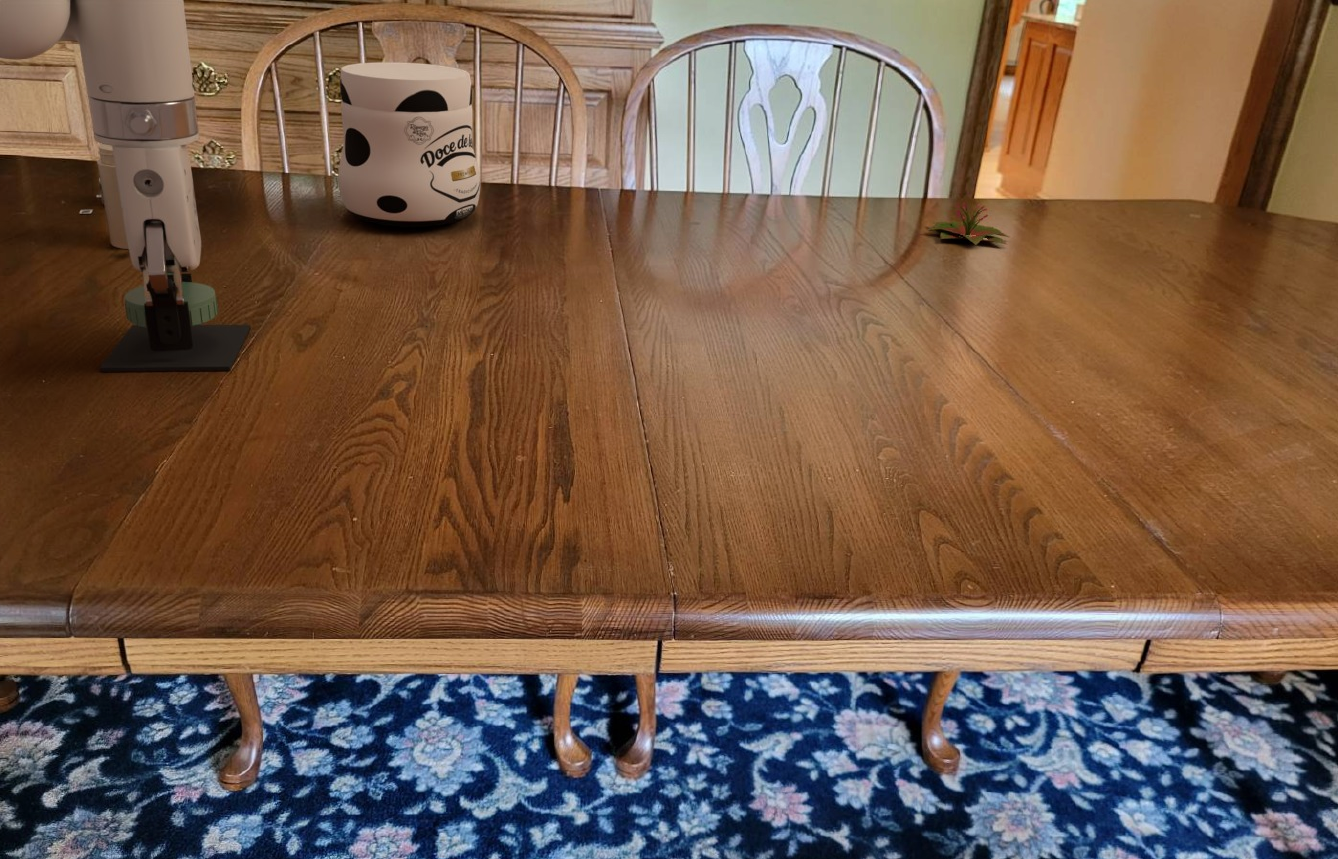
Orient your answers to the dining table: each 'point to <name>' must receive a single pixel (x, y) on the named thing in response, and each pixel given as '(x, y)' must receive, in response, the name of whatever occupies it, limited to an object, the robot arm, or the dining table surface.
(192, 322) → the honey lid
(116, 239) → the honey jar
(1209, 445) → the dining table surface
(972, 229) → the lily flower
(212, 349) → the coaster
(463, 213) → the milk container
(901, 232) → the dining table surface
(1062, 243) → the dining table surface
